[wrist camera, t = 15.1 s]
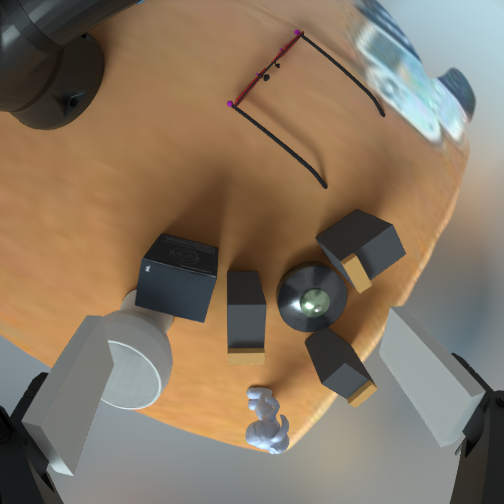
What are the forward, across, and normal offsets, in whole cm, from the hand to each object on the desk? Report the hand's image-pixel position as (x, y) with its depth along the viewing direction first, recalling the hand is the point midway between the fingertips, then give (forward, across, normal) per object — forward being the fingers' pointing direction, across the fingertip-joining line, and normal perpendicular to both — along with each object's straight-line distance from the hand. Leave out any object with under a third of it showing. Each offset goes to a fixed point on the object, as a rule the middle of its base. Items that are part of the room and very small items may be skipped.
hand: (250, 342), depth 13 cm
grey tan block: (+27, +1, -11) cm, 30 cm away
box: (+28, -6, -6) cm, 29 cm away
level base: (+27, +11, -11) cm, 32 cm away
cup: (+28, -12, -14) cm, 33 cm away
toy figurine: (+27, +5, -30) cm, 41 cm away
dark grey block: (+27, +15, -20) cm, 37 cm away
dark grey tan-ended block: (+28, +15, -3) cm, 31 cm away
